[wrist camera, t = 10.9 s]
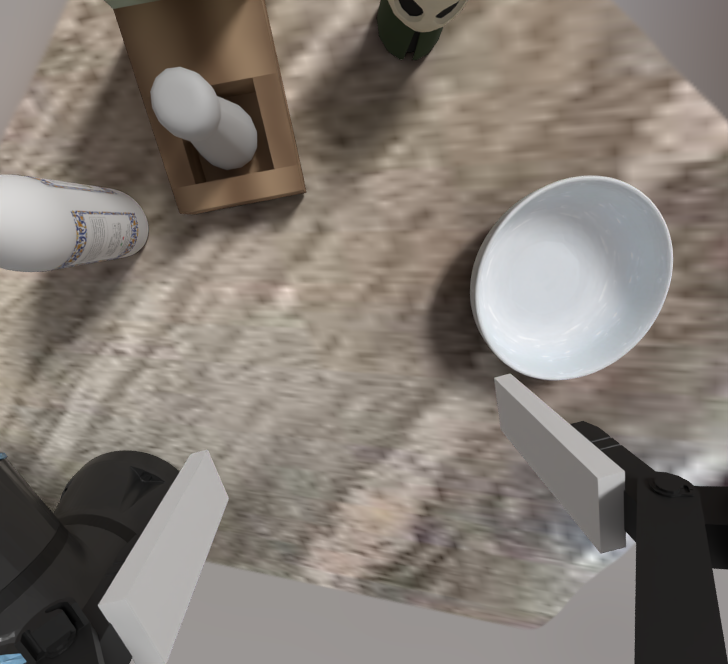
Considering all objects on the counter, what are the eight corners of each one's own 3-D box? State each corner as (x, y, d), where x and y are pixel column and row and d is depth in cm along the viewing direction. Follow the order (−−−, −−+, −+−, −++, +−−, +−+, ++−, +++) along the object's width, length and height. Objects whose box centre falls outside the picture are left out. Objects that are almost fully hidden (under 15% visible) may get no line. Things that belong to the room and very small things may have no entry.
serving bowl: (657, 261, 44) (714, 268, 37) (534, 387, 48) (566, 414, 41) (544, 139, 39) (587, 123, 32) (417, 291, 43) (432, 304, 36)
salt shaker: (211, 176, 37) (148, 154, 24) (195, 113, 35) (118, 55, 23) (268, 167, 37) (234, 141, 25) (254, 104, 35) (210, 41, 23)
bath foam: (65, 213, 37) (-217, 206, 18) (117, 174, 37) (-122, 124, 18) (115, 269, 39) (-93, 316, 20) (164, 233, 39) (-3, 246, 20)
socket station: (195, 214, 38) (91, 210, 22) (135, 22, 33) (-58, -167, 17) (306, 192, 38) (285, 172, 22) (264, -2, 33) (195, -212, 17)
